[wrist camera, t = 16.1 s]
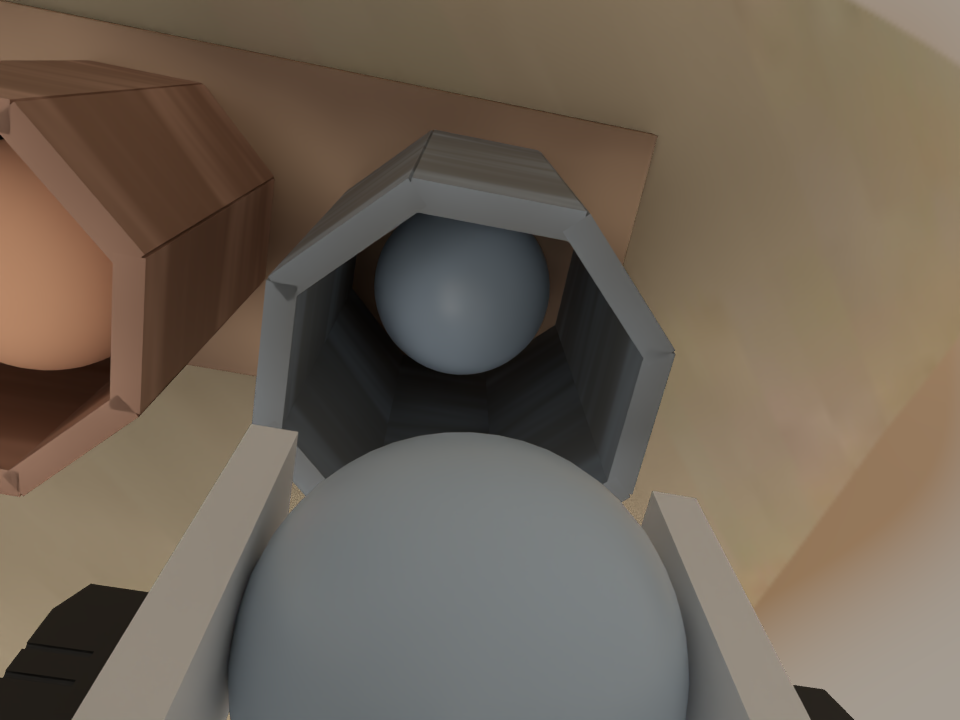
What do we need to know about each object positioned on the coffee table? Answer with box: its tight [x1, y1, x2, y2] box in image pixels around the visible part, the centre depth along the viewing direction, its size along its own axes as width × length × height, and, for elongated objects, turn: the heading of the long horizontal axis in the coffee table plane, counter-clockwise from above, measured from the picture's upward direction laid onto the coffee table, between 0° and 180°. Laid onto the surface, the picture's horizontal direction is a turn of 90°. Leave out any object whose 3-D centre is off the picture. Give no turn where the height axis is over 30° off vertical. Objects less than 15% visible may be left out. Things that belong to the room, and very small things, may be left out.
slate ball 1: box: [374, 212, 550, 375], centre depth 26 cm, size 6×6×6 cm
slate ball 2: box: [228, 432, 690, 720], centre depth 10 cm, size 6×6×6 cm
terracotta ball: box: [0, 139, 113, 370], centre depth 20 cm, size 6×6×6 cm
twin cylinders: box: [0, 0, 675, 502], centre depth 23 cm, size 12×30×13 cm, turn 79°
